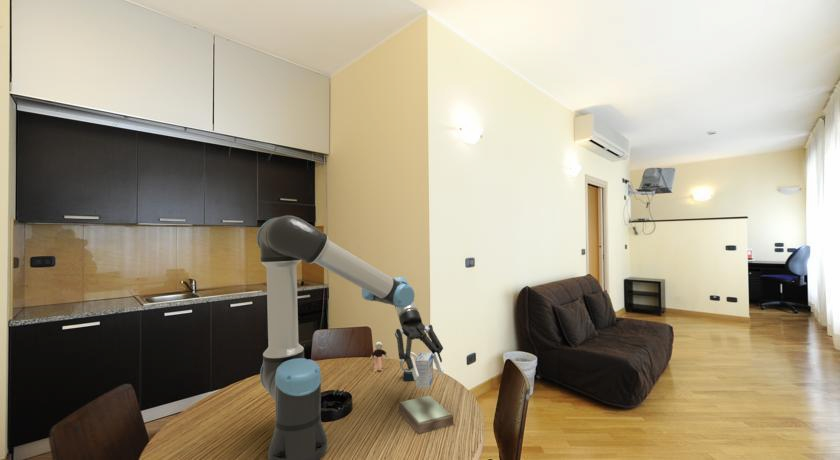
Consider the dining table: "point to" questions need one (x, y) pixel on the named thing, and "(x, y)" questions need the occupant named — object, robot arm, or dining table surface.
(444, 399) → the dining table surface
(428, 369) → the medicine box
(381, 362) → the grandmother figurine
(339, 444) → the dining table surface
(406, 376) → the watch
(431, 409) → the platform
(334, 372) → the dining table surface
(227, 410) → the dining table surface
